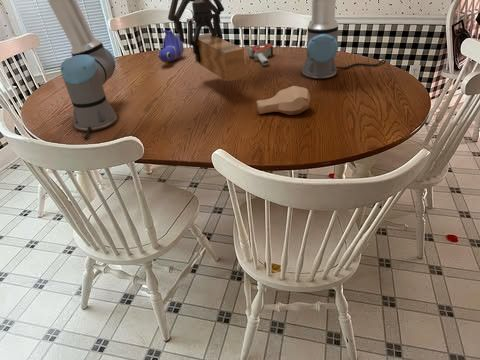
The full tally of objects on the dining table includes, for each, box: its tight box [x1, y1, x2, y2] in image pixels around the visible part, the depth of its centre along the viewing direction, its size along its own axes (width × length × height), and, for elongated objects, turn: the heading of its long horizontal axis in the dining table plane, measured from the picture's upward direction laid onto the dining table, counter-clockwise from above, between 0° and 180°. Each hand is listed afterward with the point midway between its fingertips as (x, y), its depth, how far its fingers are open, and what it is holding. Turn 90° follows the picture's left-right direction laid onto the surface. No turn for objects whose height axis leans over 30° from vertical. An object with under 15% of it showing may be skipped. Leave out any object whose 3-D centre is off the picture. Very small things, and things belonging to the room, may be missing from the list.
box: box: [193, 32, 246, 82], centre depth 144 cm, size 30×8×11 cm, turn 29°
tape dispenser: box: [247, 43, 274, 67], centre depth 182 cm, size 18×5×20 cm
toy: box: [157, 30, 185, 67], centre depth 184 cm, size 10×17×25 cm
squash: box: [255, 85, 312, 116], centre depth 130 cm, size 11×20×9 cm, turn 92°
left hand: (199, 37), depth 127 cm, fingers open, 13 cm apart
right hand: (207, 59), depth 154 cm, fingers closed on box, 8 cm apart
